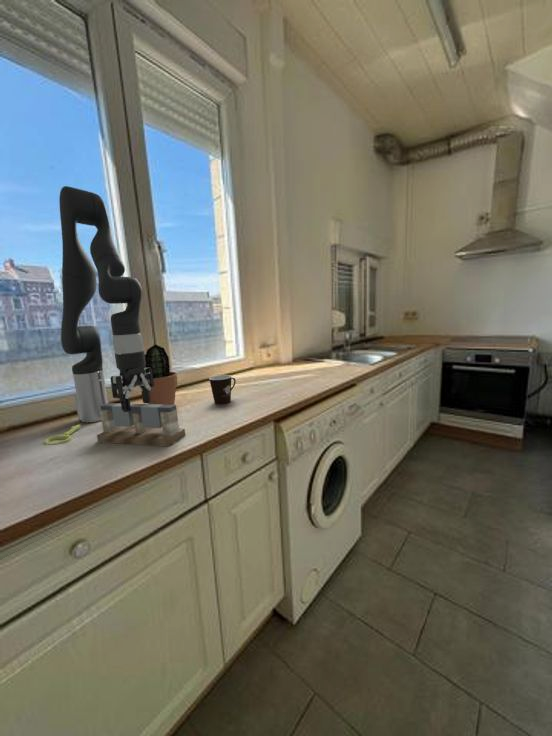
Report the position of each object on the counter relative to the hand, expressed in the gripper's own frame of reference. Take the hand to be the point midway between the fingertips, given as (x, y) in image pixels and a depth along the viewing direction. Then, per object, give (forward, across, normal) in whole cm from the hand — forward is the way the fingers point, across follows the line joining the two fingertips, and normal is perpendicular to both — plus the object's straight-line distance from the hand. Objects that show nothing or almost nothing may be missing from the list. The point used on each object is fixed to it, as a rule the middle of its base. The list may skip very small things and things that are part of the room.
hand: (137, 407), depth 90 cm
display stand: (+10, 0, 0) cm, 10 cm away
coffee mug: (+10, -39, +9) cm, 41 cm away
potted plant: (+10, -28, -13) cm, 32 cm away
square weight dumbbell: (+6, 0, 0) cm, 6 cm away
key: (+10, +2, -26) cm, 28 cm away
